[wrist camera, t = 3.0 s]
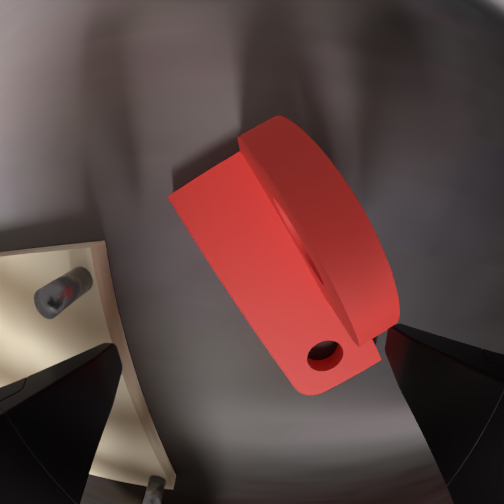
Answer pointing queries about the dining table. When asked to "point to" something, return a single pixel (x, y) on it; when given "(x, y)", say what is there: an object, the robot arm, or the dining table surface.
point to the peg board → (79, 349)
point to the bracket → (294, 253)
